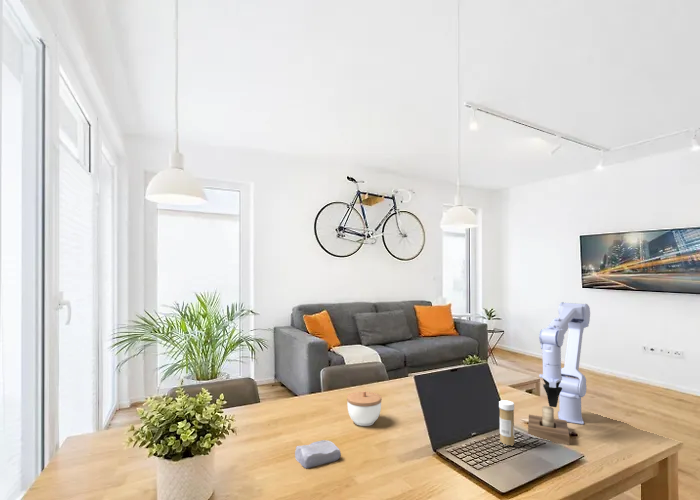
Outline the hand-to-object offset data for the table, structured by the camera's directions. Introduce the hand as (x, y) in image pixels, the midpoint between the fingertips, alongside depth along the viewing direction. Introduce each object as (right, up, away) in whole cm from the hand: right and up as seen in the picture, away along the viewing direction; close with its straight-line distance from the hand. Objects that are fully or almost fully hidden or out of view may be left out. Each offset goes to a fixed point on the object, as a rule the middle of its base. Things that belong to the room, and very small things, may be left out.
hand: (552, 403), depth 132 cm
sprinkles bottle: (-20, -9, -10) cm, 25 cm away
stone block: (-81, -9, -20) cm, 83 cm away
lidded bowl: (-65, -10, +6) cm, 66 cm away
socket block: (-2, -10, -1) cm, 10 cm away
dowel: (-2, -9, -1) cm, 10 cm away
